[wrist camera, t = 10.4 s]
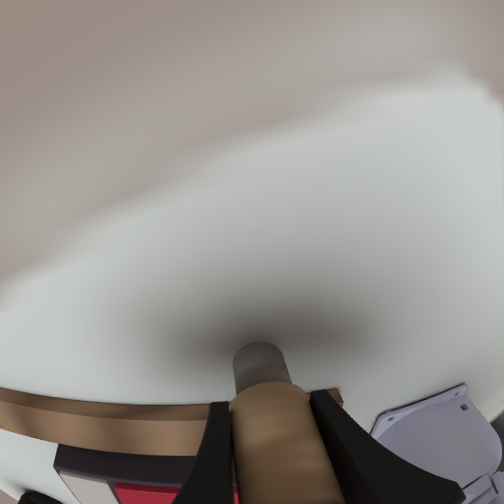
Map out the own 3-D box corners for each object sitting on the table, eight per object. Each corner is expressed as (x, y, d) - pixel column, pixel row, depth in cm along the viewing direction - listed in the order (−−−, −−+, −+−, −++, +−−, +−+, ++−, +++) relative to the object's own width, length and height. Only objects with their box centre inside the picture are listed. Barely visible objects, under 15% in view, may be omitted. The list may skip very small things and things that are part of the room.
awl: (293, 332, 13) (355, 487, 6) (289, 381, 15) (334, 519, 7) (222, 338, 13) (238, 508, 6) (226, 387, 14) (243, 534, 7)
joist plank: (337, 388, 17) (343, 402, 16) (327, 425, 18) (332, 438, 17) (-22, 382, 14) (-29, 392, 13) (1, 417, 15) (-4, 427, 14)
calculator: (246, 530, 19) (88, 520, 16) (239, 495, 23) (92, 486, 20) (270, 490, 16) (48, 473, 12) (257, 443, 19) (60, 428, 16)
